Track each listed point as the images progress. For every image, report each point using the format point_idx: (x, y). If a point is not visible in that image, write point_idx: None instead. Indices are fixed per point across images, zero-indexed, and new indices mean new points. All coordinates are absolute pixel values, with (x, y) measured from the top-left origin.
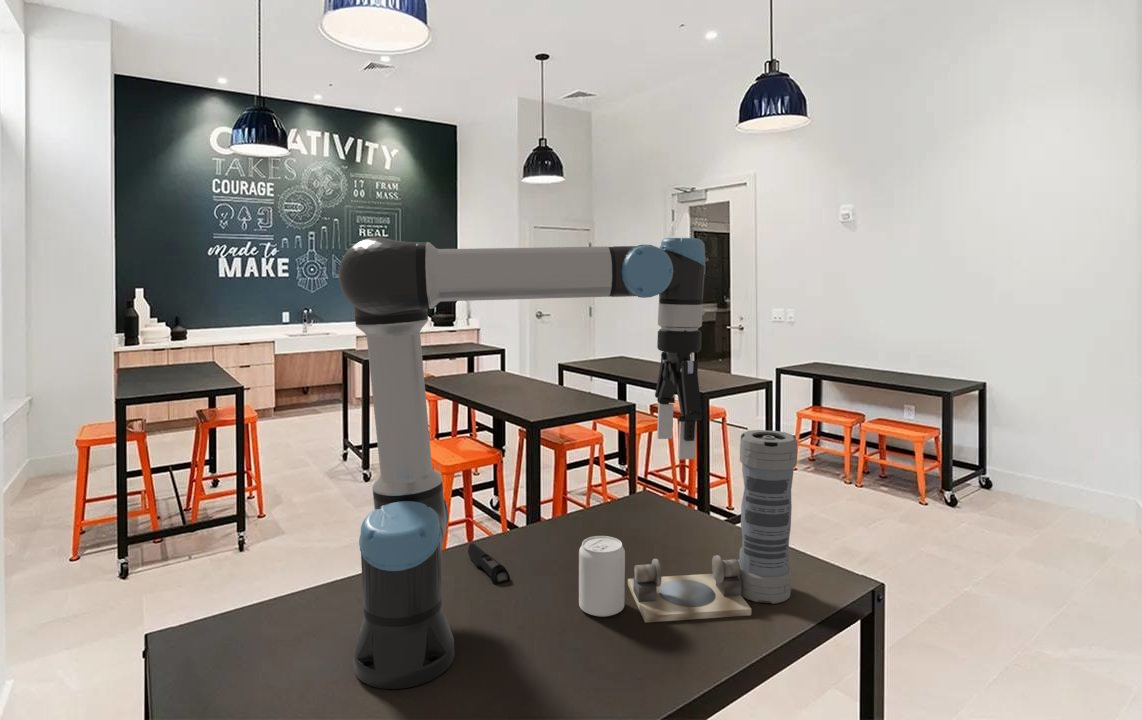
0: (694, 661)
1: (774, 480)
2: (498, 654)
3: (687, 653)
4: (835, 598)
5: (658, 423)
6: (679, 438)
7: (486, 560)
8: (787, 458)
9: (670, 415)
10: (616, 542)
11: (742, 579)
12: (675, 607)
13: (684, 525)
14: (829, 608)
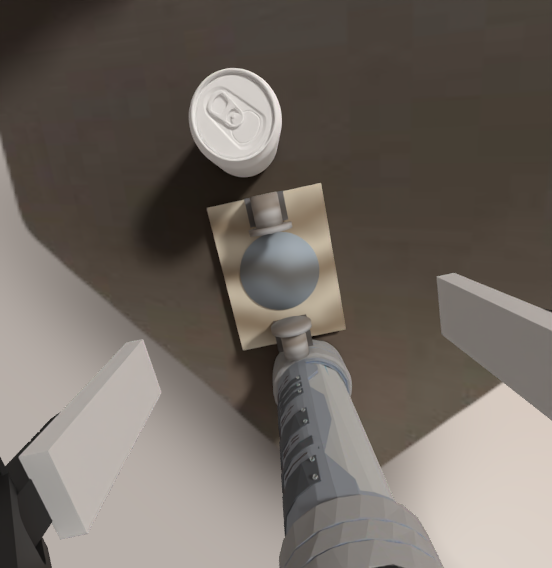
0: (125, 266)
1: (286, 531)
2: None
3: (141, 259)
4: None
5: (483, 296)
6: (94, 385)
7: None
8: None
9: (515, 377)
10: (251, 149)
11: None
12: (235, 252)
13: (546, 288)
14: (270, 436)
